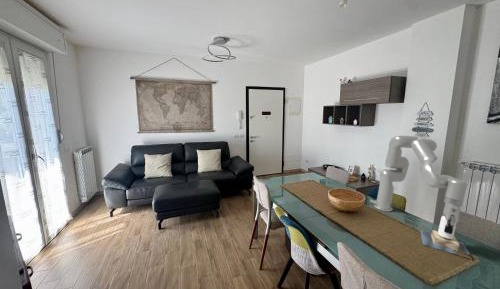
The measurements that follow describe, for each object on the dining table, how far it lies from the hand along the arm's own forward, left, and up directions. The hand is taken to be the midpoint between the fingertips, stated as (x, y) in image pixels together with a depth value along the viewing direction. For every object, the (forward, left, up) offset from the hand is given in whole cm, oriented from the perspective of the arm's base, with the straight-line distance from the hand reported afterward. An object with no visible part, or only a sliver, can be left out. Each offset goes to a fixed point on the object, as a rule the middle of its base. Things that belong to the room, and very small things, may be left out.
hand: (446, 229), depth 119 cm
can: (0, 0, -4) cm, 4 cm away
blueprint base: (0, 0, -9) cm, 9 cm away
